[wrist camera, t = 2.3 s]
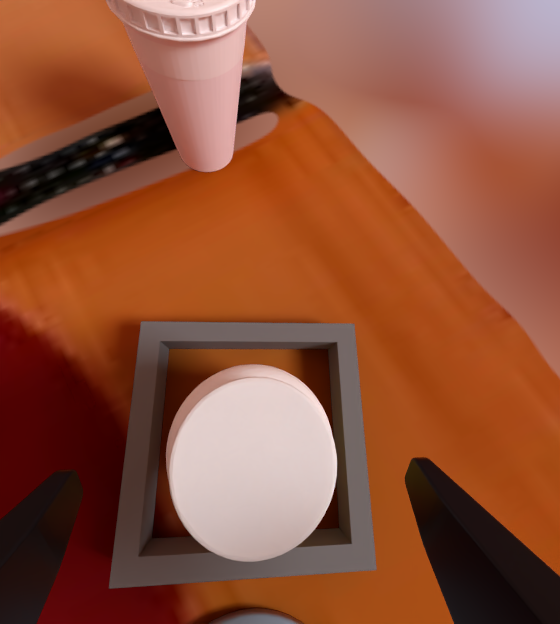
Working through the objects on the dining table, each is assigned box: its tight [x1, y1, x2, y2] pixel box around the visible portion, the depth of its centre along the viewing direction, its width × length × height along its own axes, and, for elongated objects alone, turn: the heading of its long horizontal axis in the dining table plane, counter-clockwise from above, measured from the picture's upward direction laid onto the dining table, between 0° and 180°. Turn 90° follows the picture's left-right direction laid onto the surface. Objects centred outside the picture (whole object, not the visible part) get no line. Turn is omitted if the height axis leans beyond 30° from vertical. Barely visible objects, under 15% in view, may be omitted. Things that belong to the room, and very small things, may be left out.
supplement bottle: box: [166, 364, 337, 562], centre depth 12 cm, size 5×5×10 cm
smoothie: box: [106, 0, 256, 172], centre depth 15 cm, size 6×6×14 cm
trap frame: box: [109, 321, 376, 589], centre depth 16 cm, size 11×11×2 cm
